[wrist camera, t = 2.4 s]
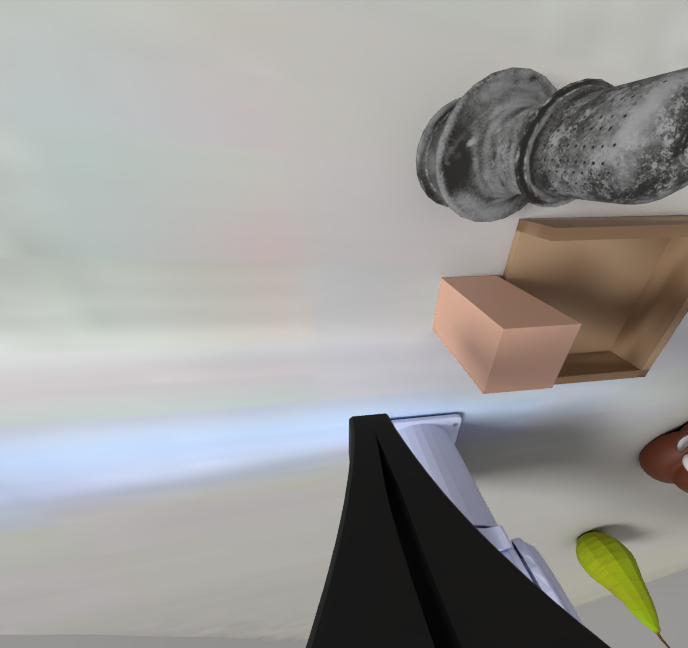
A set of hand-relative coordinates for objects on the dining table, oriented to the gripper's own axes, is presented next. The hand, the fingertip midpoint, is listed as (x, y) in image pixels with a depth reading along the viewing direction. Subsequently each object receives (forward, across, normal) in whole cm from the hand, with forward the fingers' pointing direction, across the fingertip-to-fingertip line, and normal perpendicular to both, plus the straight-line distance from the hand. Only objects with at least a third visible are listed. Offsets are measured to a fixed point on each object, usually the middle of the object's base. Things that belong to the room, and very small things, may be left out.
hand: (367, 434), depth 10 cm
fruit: (+11, -37, +40) cm, 56 cm away
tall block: (+10, -9, 0) cm, 14 cm away
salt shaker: (+11, -7, -9) cm, 16 cm away
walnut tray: (+10, -18, 0) cm, 20 cm away
